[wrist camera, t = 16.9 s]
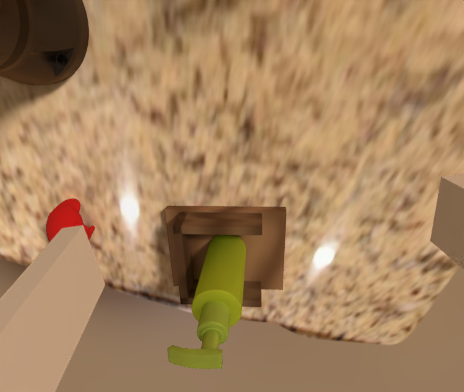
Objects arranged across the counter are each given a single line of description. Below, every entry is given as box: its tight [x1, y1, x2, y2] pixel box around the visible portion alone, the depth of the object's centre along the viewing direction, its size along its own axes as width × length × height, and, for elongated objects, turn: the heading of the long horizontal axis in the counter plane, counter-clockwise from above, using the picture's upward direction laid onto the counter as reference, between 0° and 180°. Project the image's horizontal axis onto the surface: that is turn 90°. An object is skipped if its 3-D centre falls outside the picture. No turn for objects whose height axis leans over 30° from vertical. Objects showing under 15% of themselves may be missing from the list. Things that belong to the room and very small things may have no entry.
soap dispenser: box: [168, 235, 246, 369], centre depth 39 cm, size 6×7×20 cm
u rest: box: [165, 206, 286, 307], centre depth 47 cm, size 18×14×6 cm
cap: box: [46, 199, 95, 241], centre depth 48 cm, size 8×6×6 cm
